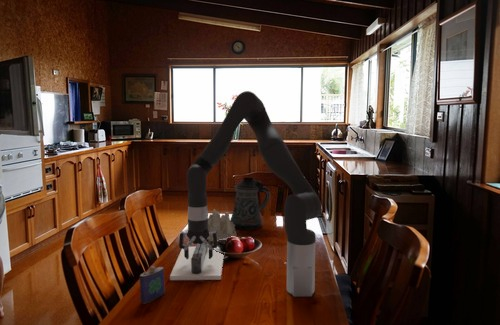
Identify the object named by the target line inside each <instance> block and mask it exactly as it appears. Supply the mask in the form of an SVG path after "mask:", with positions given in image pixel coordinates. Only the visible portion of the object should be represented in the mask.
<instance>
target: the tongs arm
mask: <svg viewBox="0 0 500 325" xmlns="http://www.w3.org/2000/svg"><path fill="white" fill-rule="evenodd" d="M195 246H196V248H195V251H194V254H193V256H192V258H193V257H198V253H199V250H200V247H201V244H199V243H198V244H195Z"/></svg>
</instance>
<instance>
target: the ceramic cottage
mask: <svg viewBox="0 0 500 325" xmlns="http://www.w3.org/2000/svg"><path fill="white" fill-rule="evenodd" d="M234 227H235V225H234V224H233V223H232V222H231V217H230V214H229V212H228V211H226V212H224V214H222V215H221V214H220V212H218V211H217V210H216V209H215V208H214V209H213V210H212V214H208V231H209V232H214V231H216V232H217V240H219V239H223V238H227V237H231V236H237V237H238V235H237V232H236V229H235V228H234ZM208 240H209V241H210V242H212V243H214V241H213V238H212V237H211V236H210V235H209V237H208Z"/></svg>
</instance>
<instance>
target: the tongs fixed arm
mask: <svg viewBox="0 0 500 325" xmlns="http://www.w3.org/2000/svg"><path fill="white" fill-rule="evenodd" d="M207 250H208V247H207V246H206V245H205V244H204V243H202V244H201V247H200V250H199V253H198V257H193V258H191V272H192V273H193V274H199V273H201V271H202V267H203V263H204V259H205V255H206V251H207Z"/></svg>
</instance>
